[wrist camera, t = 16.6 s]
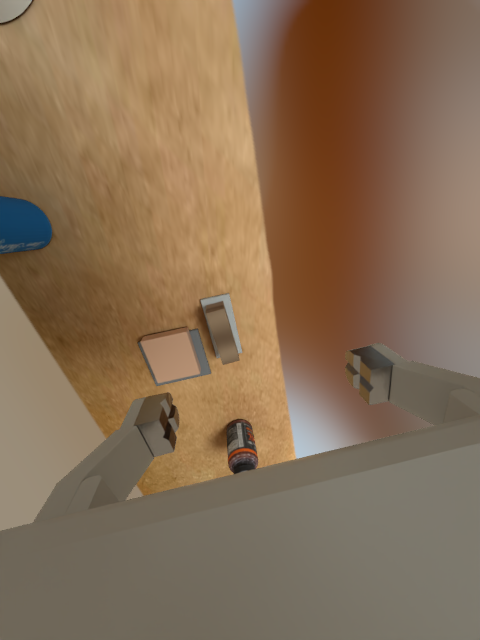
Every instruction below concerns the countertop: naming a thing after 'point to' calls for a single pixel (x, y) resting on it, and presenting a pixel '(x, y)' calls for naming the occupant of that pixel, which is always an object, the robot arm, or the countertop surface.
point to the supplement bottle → (241, 447)
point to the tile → (171, 354)
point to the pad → (229, 310)
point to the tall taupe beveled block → (222, 332)
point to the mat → (200, 354)
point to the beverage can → (22, 226)
